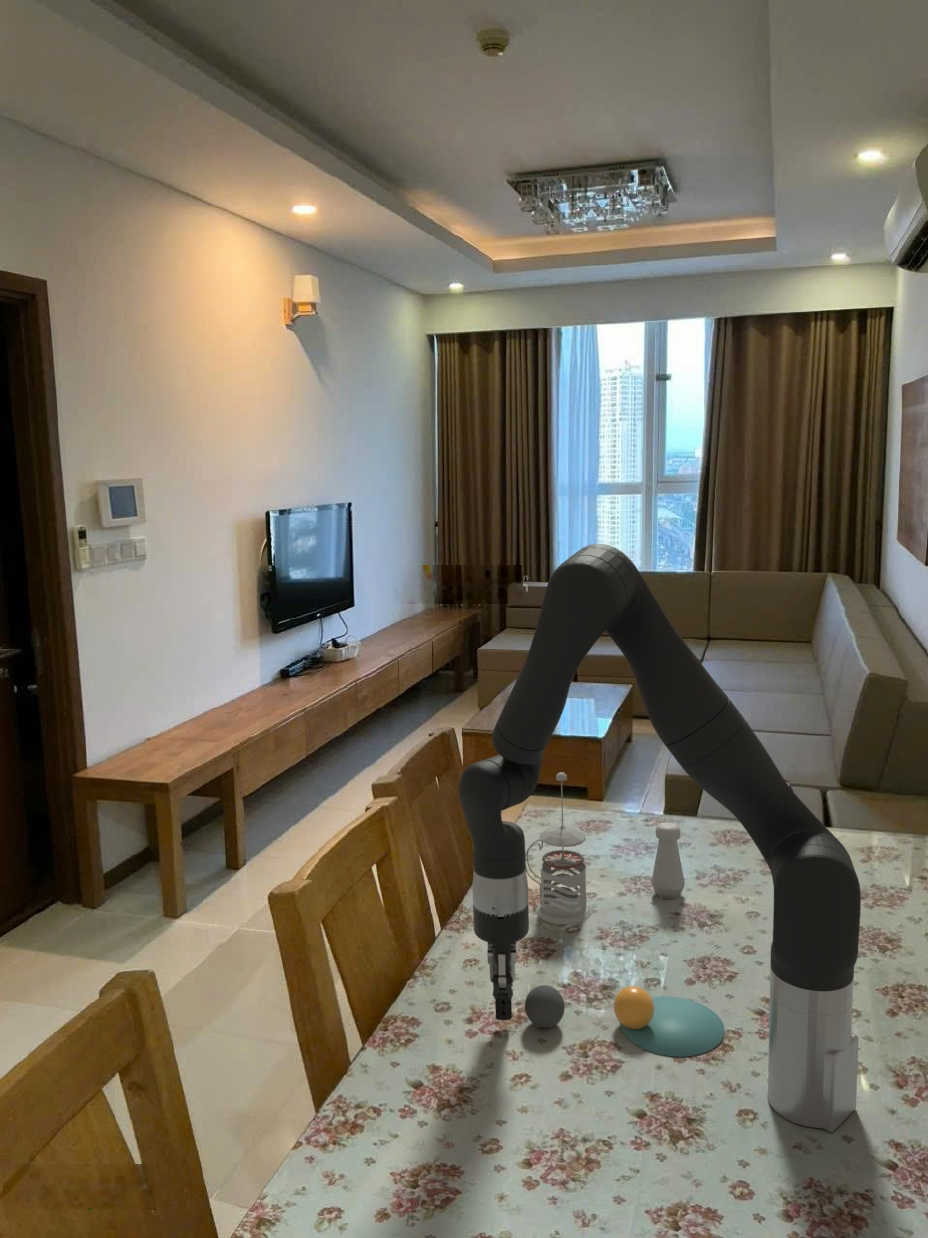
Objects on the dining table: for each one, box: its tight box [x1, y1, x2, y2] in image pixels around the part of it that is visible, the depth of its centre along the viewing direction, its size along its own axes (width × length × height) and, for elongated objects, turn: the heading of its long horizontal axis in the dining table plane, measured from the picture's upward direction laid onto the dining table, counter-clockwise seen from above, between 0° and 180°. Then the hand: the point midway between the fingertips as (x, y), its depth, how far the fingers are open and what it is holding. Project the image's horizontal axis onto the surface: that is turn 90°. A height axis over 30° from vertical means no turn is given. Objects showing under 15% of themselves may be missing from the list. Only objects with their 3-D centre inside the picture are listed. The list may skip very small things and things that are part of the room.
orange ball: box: [613, 985, 654, 1029], centre depth 132 cm, size 6×6×6 cm
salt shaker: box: [651, 822, 686, 900], centre depth 171 cm, size 6×6×13 cm
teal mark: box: [619, 995, 725, 1058], centre depth 133 cm, size 14×14×1 cm
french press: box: [525, 771, 593, 925], centre depth 165 cm, size 10×12×25 cm
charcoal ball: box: [524, 984, 566, 1029], centre depth 133 cm, size 6×6×6 cm
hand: (503, 1017), depth 133 cm, fingers closed
